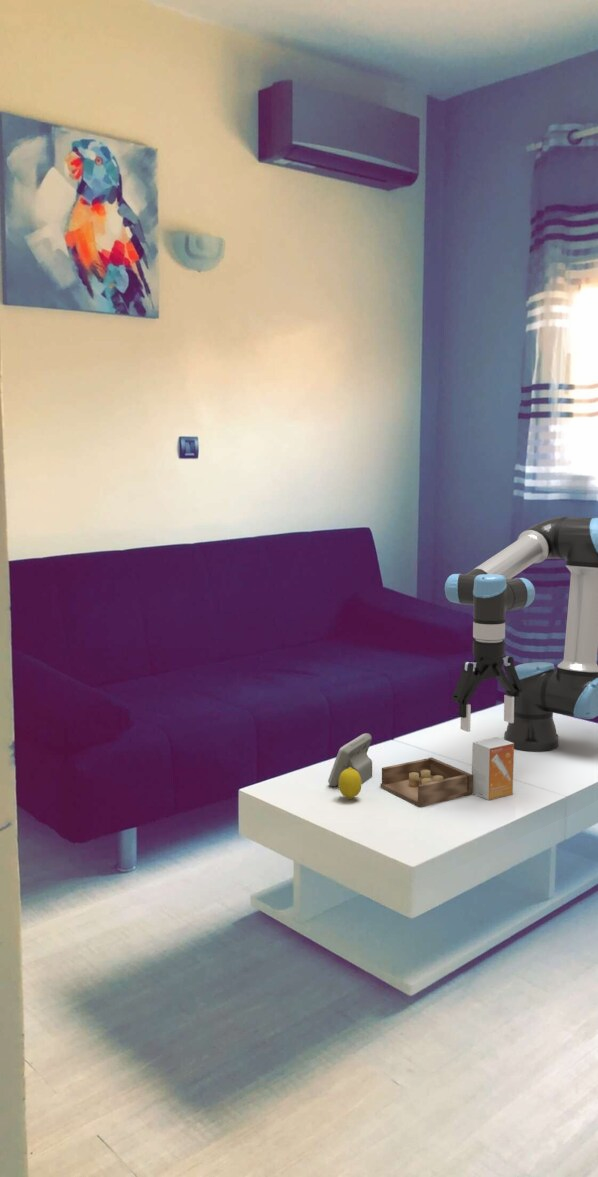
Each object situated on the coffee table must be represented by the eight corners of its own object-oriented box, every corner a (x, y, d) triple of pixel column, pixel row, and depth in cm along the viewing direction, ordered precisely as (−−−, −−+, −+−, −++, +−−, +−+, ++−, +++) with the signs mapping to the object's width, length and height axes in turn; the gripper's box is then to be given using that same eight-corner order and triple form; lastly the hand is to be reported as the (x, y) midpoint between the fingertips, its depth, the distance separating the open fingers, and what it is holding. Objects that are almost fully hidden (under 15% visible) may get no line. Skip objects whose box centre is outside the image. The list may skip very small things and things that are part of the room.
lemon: (364, 796, 235) (364, 765, 234) (358, 804, 230) (357, 772, 228) (342, 794, 236) (342, 762, 235) (335, 802, 231) (335, 770, 230)
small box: (488, 801, 231) (489, 748, 229) (470, 793, 236) (471, 741, 234) (513, 794, 235) (514, 742, 233) (495, 787, 240) (496, 736, 239)
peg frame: (431, 776, 249) (431, 757, 248) (472, 794, 235) (472, 774, 235) (380, 787, 241) (380, 768, 240) (419, 807, 227) (419, 786, 227)
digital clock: (356, 768, 256) (356, 729, 255) (384, 775, 250) (384, 735, 249) (317, 784, 244) (317, 743, 242) (346, 792, 238) (346, 750, 237)
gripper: (517, 631, 240) (515, 715, 243) (437, 642, 227) (436, 730, 230) (539, 636, 233) (536, 722, 236) (457, 647, 221) (456, 737, 224)
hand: (487, 726), depth 233 cm, fingers open, 13 cm apart
